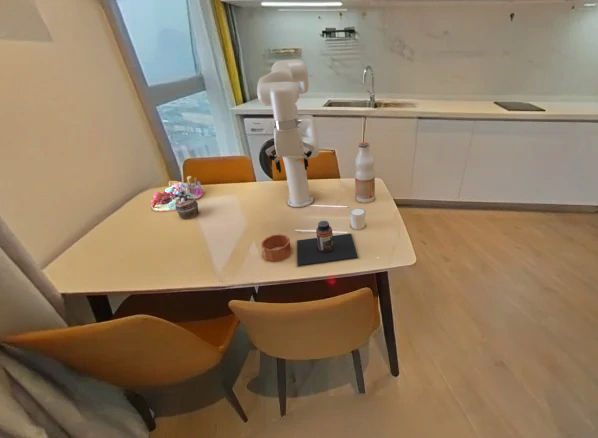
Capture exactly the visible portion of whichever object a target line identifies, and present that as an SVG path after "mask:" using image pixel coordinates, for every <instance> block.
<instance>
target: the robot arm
mask: <svg viewBox="0 0 598 438" xmlns="http://www.w3.org/2000/svg"><path fill="white" fill-rule="evenodd" d="M309 87H310V85H309V73H308V68H307V65H306V63H305V62H304V61H303V60H301V59H286V60H285V59H284V60H277V61H276V62H274V63H273V64H272V66H271V71H270V72H269V73H267V74H264V75H262V76H261V77H259V79H258V81H257V86H256V95H257V99H258V101H259V103H260V104H261V105H263V106H265V107H271V108H272V115H273V120H274V128H273V141H274V144H273V145H272V146H269V148H268V147H267V149H266V150H265V154H266V155H267V156H268V157H269V159H270V160H271V161H273V162H274V163H275V168H276V170H277V171H278V174H279V173H282V165H281V158H282V161H283V165H284V170H285V175H286V182H287V188H288V193H289V194H288V195H289V197H288V199H287V201H286V202H287V205H288V206H290V207H292V208H303V207H306V206H309V205H311V204H312V203H313V202H314V196H312V194H311V195H310V190H309V181H308V180H309V179H308V173H307V170H308V168H309V159H314V158H317V157H318V156H319V154H320V144H319V136H318V130H317V129H318V128H317V123H316V120H315V117H314V116H313V115H311V114H298V113H299V112H298V106H297V104H296V103H297V102H298V100H299V98H300V95H303V94H306V93H307V92H308V91H309ZM274 151H275V154H276V155H274V154H273V153H272V152H274ZM302 160H303V161H302Z"/></svg>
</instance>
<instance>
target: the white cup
mask: <svg viewBox="0 0 598 438" xmlns="http://www.w3.org/2000/svg"><path fill="white" fill-rule="evenodd" d="M349 219H350V225H351V228H352V229H353V230H362V229H364V228H365V227H366V210H365V209H364V208H361V207H355V208H352V209H350V210H349Z"/></svg>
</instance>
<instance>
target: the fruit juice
mask: <svg viewBox="0 0 598 438" xmlns="http://www.w3.org/2000/svg"><path fill="white" fill-rule="evenodd" d="M370 146H371V145H370V142H367V141H363V142H359V143H358V148H359V149H358V153H357V156H356V157H355V159H354V165H355V171H354V181H355V184H354V185H355V198H356V201H358V202H359V203H362V204H363V203H365V204H367V203H372V202H374V201H375V198H376V181H375V180H376V179H375V178H376V175H375V173H376V172H375V168H374V166H375V159H374V157H373V155H372V153H371V150H370Z"/></svg>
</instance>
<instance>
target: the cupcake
mask: <svg viewBox="0 0 598 438" xmlns="http://www.w3.org/2000/svg"><path fill="white" fill-rule="evenodd" d="M176 200H177V201H176V203H175V205H176V210H175V211H176V213H177V214H178V216H179V217H180V218H181V219H182V220H191V219H193V218H196V217H197V216H198V215H199V212H200V211H199V202H197V201H196V200H197V199H195V200H194V199H193V197H192V196H190V195H187V194H186V193H185V194H183V195H181V196H177V198H176Z"/></svg>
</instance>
